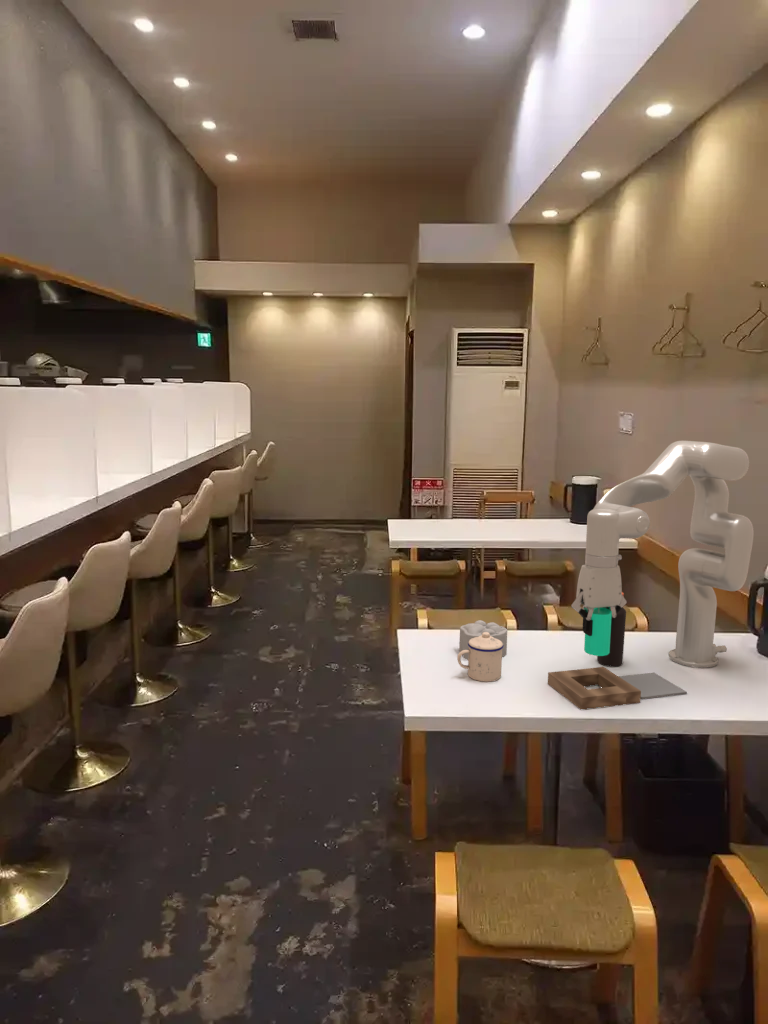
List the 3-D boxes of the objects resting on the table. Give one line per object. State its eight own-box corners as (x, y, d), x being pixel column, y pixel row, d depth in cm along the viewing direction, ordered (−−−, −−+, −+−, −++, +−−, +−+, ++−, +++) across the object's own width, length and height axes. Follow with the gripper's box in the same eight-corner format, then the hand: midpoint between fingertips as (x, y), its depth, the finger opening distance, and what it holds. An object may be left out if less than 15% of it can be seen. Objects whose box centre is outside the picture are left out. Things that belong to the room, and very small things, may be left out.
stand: (602, 677, 190) (603, 666, 190) (640, 702, 175) (641, 690, 174) (547, 683, 186) (548, 672, 185) (581, 709, 171) (581, 697, 170)
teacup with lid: (494, 668, 196) (496, 626, 194) (507, 681, 187) (509, 637, 185) (452, 671, 193) (453, 628, 191) (462, 684, 184) (463, 640, 183)
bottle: (610, 656, 205) (615, 588, 202) (627, 665, 199) (633, 594, 196) (591, 660, 202) (596, 590, 199) (608, 668, 196) (613, 597, 193)
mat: (653, 674, 193) (654, 672, 193) (686, 694, 180) (687, 691, 180) (610, 679, 189) (611, 677, 189) (641, 699, 177) (641, 697, 177)
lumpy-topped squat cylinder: (456, 648, 210) (457, 619, 209) (499, 646, 213) (500, 617, 211) (467, 661, 200) (468, 631, 199) (512, 659, 203) (513, 629, 201)
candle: (609, 648, 181) (612, 602, 179) (609, 657, 175) (611, 609, 173) (584, 646, 183) (587, 599, 181) (583, 654, 177) (585, 606, 175)
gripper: (623, 554, 181) (619, 625, 184) (561, 559, 176) (558, 631, 179) (641, 561, 174) (637, 634, 177) (578, 566, 169) (574, 641, 172)
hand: (597, 632), depth 178 cm, fingers closed on candle, 4 cm apart
